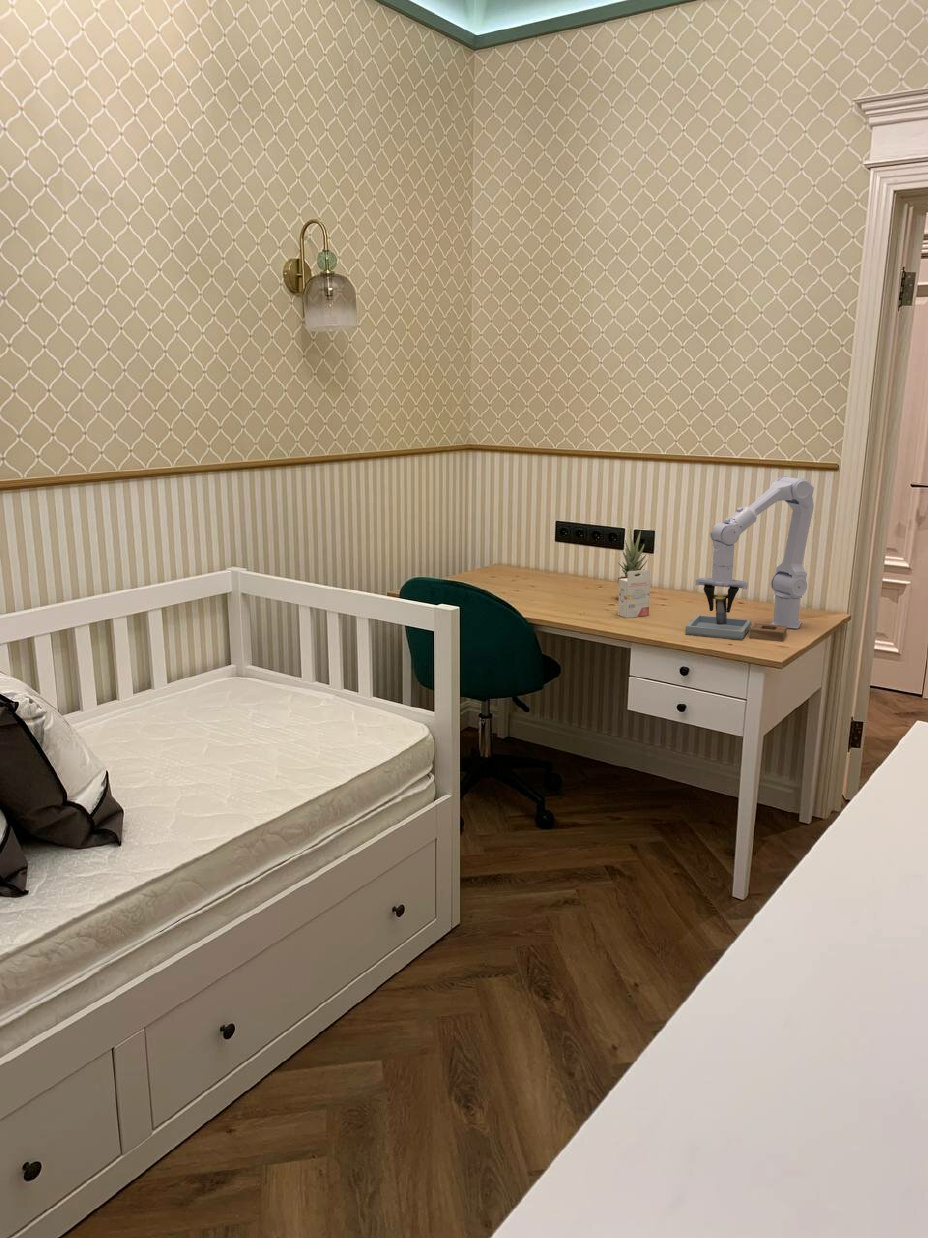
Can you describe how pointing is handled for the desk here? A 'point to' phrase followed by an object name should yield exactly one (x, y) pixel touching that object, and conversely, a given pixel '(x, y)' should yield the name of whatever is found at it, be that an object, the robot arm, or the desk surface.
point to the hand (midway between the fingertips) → (719, 611)
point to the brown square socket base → (768, 632)
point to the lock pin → (721, 608)
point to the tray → (718, 627)
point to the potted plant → (632, 557)
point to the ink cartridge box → (634, 594)
